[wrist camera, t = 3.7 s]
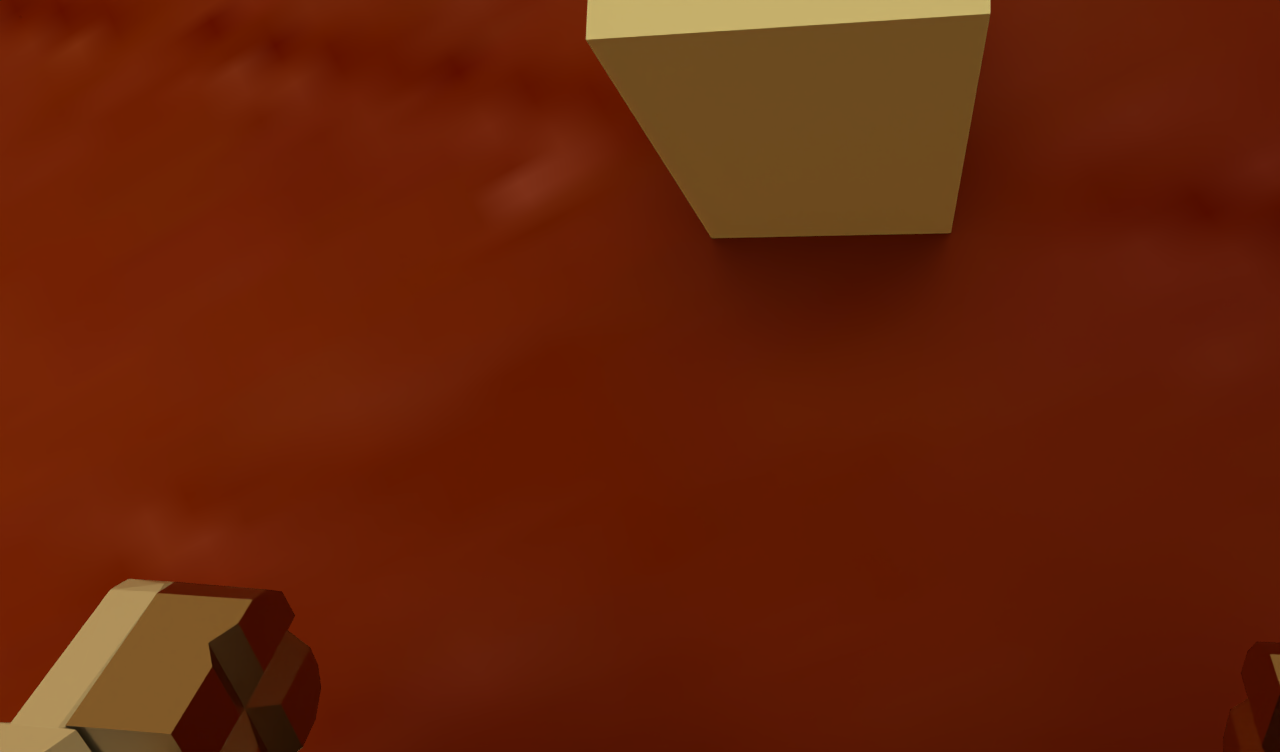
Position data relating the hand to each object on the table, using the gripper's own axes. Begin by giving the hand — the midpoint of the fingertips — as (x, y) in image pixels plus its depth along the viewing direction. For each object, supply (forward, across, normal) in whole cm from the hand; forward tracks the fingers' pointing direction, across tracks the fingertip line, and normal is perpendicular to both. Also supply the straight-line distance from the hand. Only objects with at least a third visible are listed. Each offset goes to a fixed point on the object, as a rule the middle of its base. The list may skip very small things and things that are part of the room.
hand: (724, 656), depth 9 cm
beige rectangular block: (+16, 0, +2) cm, 17 cm away
